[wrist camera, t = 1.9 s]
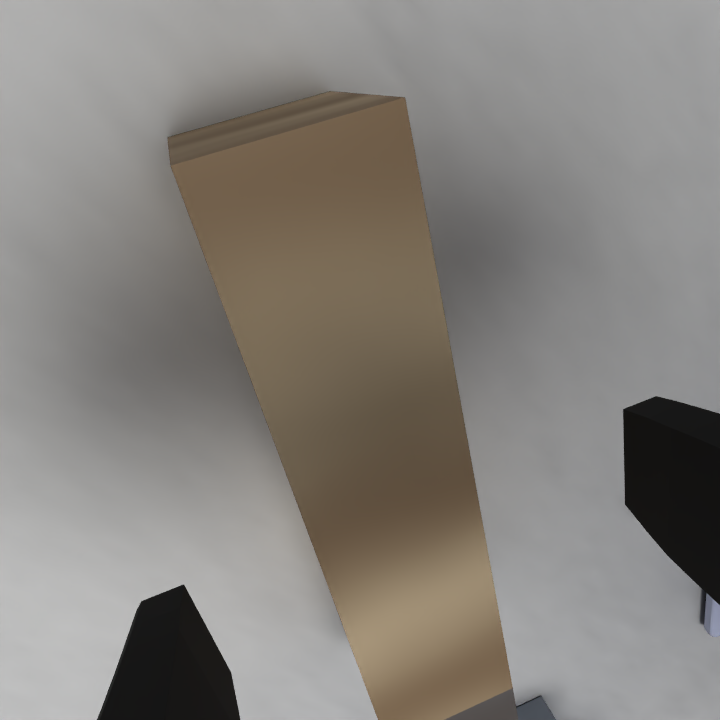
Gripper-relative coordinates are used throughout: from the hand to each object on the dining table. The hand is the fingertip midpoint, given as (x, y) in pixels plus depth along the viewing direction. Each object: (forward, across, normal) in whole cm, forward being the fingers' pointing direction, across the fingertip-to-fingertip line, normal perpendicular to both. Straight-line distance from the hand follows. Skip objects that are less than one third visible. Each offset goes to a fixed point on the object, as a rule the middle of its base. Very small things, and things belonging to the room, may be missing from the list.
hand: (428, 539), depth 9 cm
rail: (+7, 0, +2) cm, 7 cm away
